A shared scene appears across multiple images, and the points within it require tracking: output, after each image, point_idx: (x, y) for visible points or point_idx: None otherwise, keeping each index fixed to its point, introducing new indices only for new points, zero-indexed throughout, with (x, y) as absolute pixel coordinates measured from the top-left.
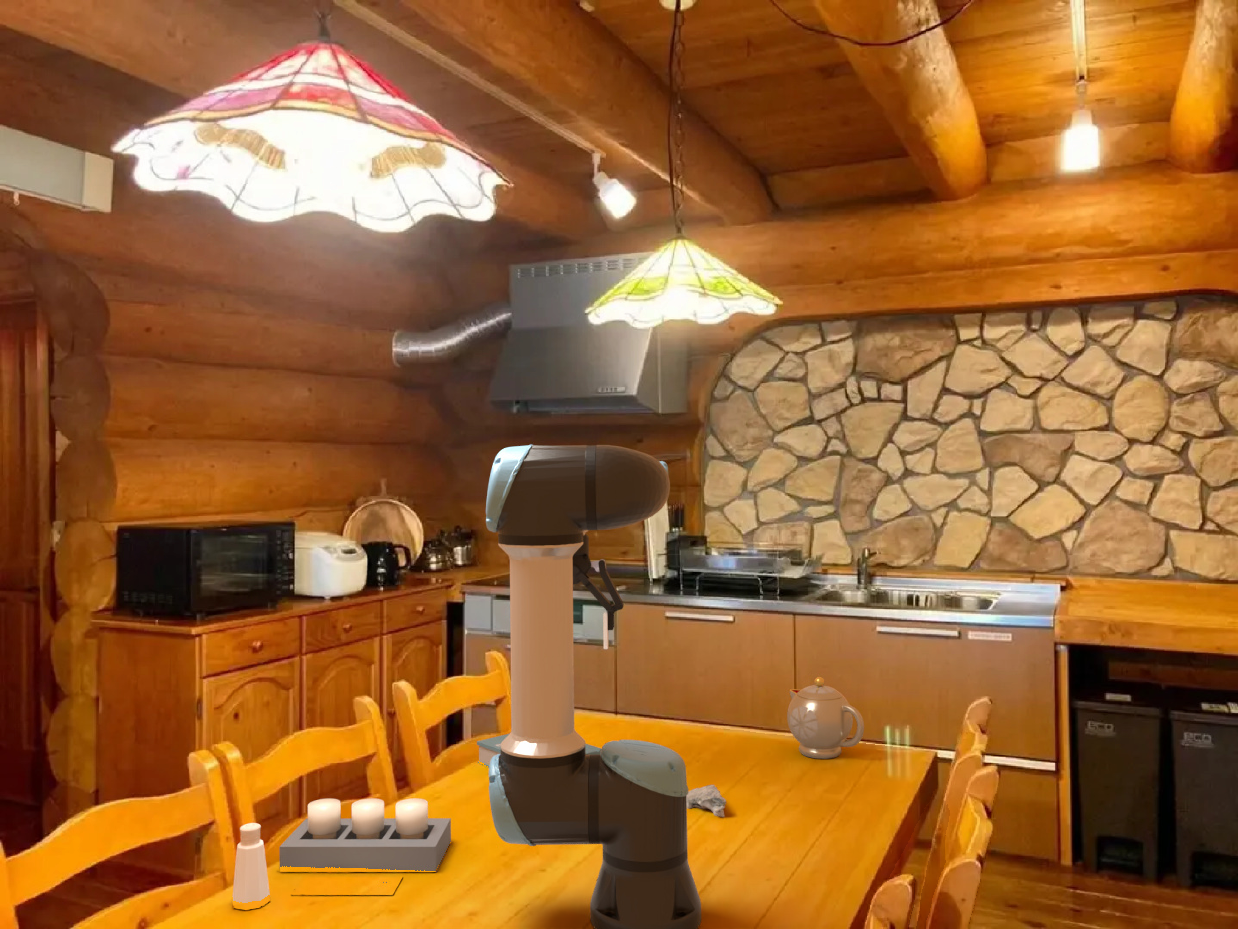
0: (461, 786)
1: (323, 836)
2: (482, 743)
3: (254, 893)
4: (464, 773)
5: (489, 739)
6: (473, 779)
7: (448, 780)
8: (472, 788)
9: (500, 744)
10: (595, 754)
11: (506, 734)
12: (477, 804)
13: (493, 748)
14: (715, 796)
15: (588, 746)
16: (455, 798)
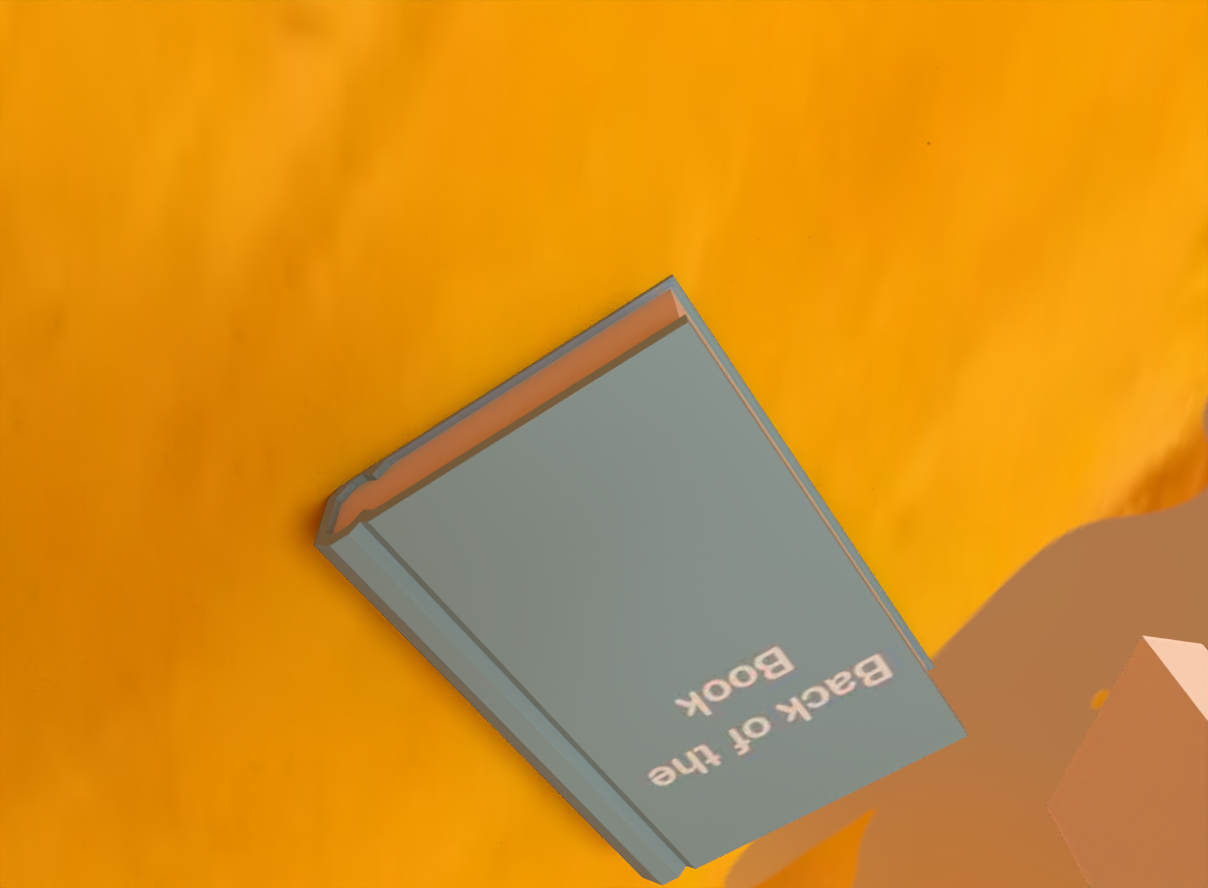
0: (1067, 374)
1: None
2: (947, 706)
3: None
4: (1014, 545)
5: (903, 755)
6: (991, 461)
7: (1106, 464)
8: (1022, 338)
9: (864, 680)
10: (376, 508)
11: (810, 811)
12: (1048, 90)
13: (904, 642)
14: None
15: (410, 598)
16: (1135, 204)
